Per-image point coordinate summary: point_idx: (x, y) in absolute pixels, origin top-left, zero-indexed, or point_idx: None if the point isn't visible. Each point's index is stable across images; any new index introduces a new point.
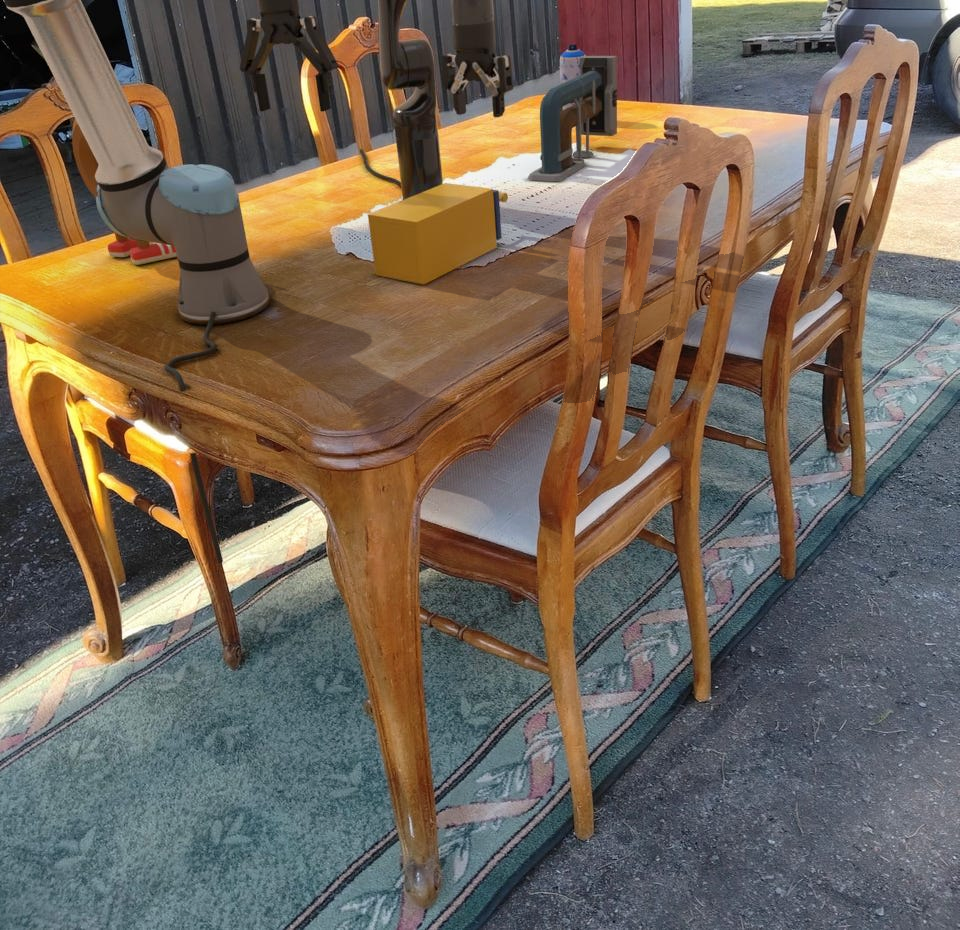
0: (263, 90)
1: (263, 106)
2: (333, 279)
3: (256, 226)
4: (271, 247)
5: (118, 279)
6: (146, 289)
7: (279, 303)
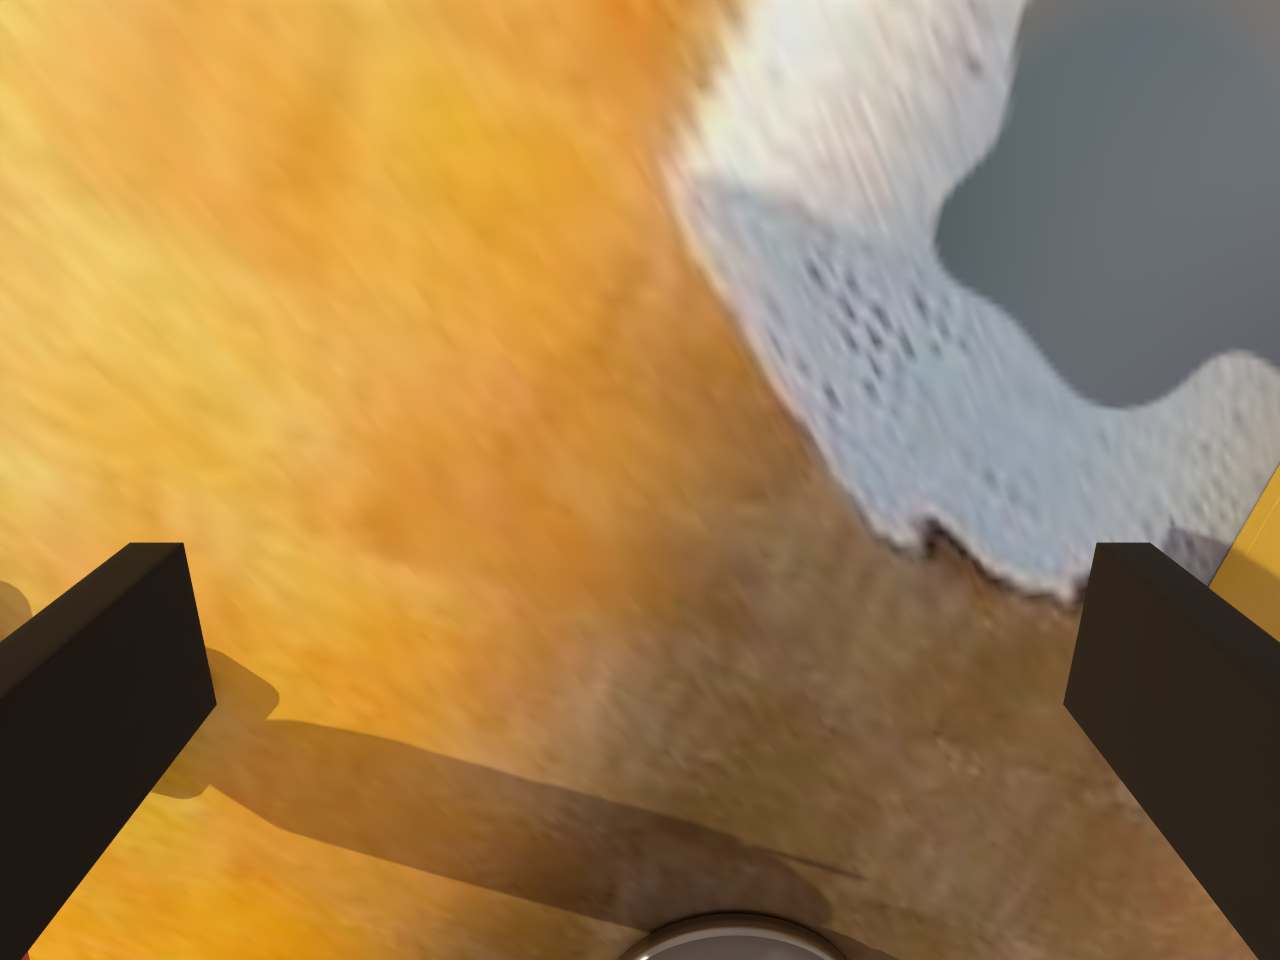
0: (39, 801)
1: (187, 719)
2: (977, 776)
3: (223, 226)
4: (526, 512)
5: (170, 884)
6: (352, 935)
7: (880, 956)
